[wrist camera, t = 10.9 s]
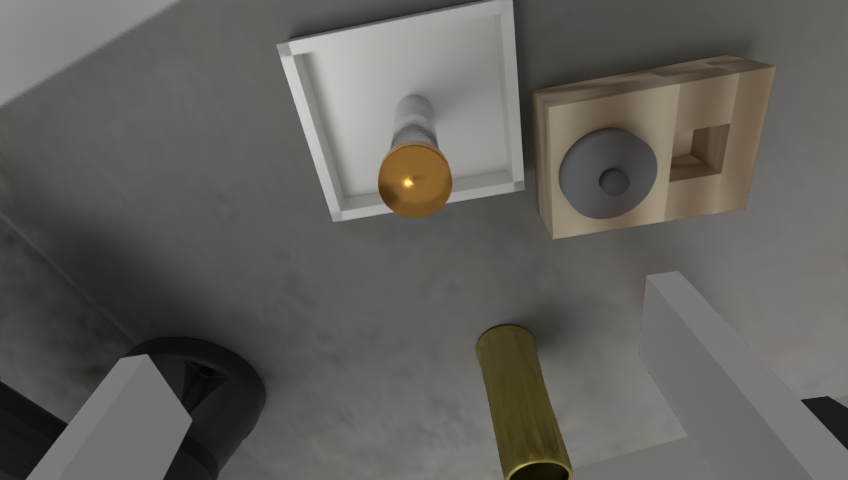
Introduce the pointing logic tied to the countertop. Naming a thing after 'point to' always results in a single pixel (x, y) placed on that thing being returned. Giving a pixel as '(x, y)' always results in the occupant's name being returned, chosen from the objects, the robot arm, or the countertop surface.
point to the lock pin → (414, 163)
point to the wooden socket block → (648, 144)
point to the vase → (521, 407)
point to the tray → (402, 76)
